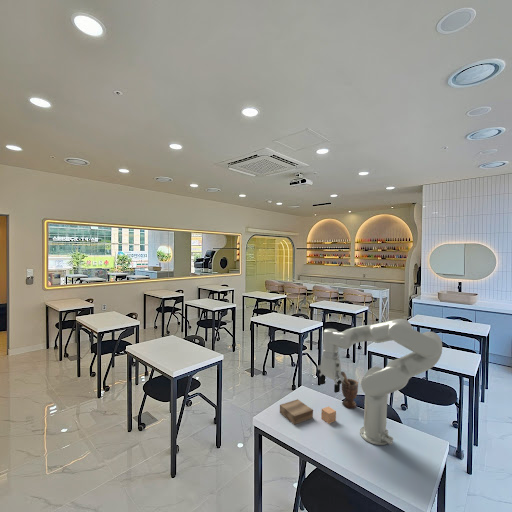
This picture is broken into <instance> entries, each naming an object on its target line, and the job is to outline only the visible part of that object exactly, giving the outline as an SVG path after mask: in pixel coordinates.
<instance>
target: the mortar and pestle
mask: <svg viewBox="0 0 512 512" xmlns="http://www.w3.org/2000/svg"><path fill="white" fill-rule="evenodd" d="M341 374H342V376H343V377H344V380H343V382H342V383H341V392H342V396H343V397H344V399H343V400H342V402H341V403H342V405H343V407H344V408H347V409H355V408H357V403H356V401H355V400H354V399H356V398H357V396H358V393H359V392H358V391H359V382H358V381H357V380H355V379H351V378H348V377H347V374H346V373H345V371H341Z"/></svg>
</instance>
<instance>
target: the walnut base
mask: <svg viewBox="0 0 512 512" xmlns="http://www.w3.org/2000/svg"><path fill="white" fill-rule="evenodd" d="M279 413H280V414H281V415H282V417H283V416H284V417H285V418H286V419H287V420H288V421H289V422H290V423H291V424H293V425H297V424H300V423H302V422H305V421H308V420H311V419H313V417H314V410H313V409H312V408H311V407H309V406H308V405H306V404H305V403H304V402H302V401H301V400H300V399H298V398H297V399H295V400H291V401H287V402H285V403H281V404H279Z"/></svg>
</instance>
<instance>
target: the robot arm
mask: <svg viewBox="0 0 512 512" xmlns="http://www.w3.org/2000/svg"><path fill="white" fill-rule="evenodd" d="M322 338H323V339H322V343H323V344H322V355H321V360H320V364H319V365H316V368H317V373H318V375H319V376H318V377H319V385H326V377H327V378H329V379H330V380H333V381H334V383H335V384H334V386H333V387H334V389H333V390H334V391H333V392H334V393H335V394H337V393H340V391H341V390H340V389H341V385H342V382H343V380H344V377H343V376H342V374H341V372H342V368H341V360H340V354H339V348H340V349H342V350H348V349H350V348H351V347H353V345H355V344H356V343H363V342H374V343H377V344H380V343H381V344H382V343H384V342H390V341H394V342H395V343H397V344H398V345H401V346H402V347H403V348H406V349H407V350H409V351H411V352H410V353H408V354H406V355H403V356H401V357H398V358H396V359H392V360H391V361H389V362H388V363H387V365H386V366H385V367H384V368H382V367H381V366H380V367H379V366H373V367H370V368H369V369H368V370H367V371H366V373H365V374H364V375H363V377H362V379H361V381H360V385H361V386H360V388H361V390H362V392H363V393H364V407H363V408H364V412H363V426H362V427H360V429H359V435H360V436H361V438H363V440H365V441H366V442H368V443H370V444H372V445H376V446H377V445H378V446H385V445H387V444H389V445H390V446H392V445H393V444H394V443H393V441H394V437H393V436H391V435H389V430H388V429H387V416H388V414H387V413H388V410H387V409H388V395H389V394H391V393H392V394H393V393H395V392H397V391H400V390H402V389H404V387H406V386H407V384H408V383H409V380H410V379H411V378H412V377H415V376H418V375H420V374H423V373H424V372H426V371H429V370H430V369H432V368H433V367H435V365H437V363H438V362H439V360H440V359H441V356H442V352H443V342H442V341H443V340H442V338H441V336H440V335H439V334H437V333H436V332H434V331H425V332H419V331H417V330H416V329H414V328H413V327H412V324H411V323H410V322H409V320H407V319H405V318H396V319H391V320H388V321H387V320H386V321H382V322H378V323H377V322H376V323H372V324H367V325H361V326H360V325H359V326H356V327H352V328H351V327H350V328H347V329H345V330H343V331H342V332H339V330H337V329H335V328H325V329H324V330H323V337H322Z"/></svg>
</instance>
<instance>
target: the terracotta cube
mask: <svg viewBox="0 0 512 512" xmlns="http://www.w3.org/2000/svg"><path fill="white" fill-rule="evenodd" d="M320 415H321V420H323V421H324V422H325V423H327V424H331V423H333V422H334V423H335V422H336V421H337V410H336V409H334V408H332V407H330V406H326V407H322V408H321V414H320Z"/></svg>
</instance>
